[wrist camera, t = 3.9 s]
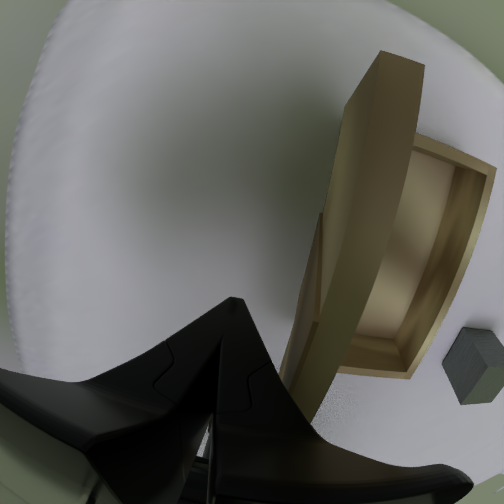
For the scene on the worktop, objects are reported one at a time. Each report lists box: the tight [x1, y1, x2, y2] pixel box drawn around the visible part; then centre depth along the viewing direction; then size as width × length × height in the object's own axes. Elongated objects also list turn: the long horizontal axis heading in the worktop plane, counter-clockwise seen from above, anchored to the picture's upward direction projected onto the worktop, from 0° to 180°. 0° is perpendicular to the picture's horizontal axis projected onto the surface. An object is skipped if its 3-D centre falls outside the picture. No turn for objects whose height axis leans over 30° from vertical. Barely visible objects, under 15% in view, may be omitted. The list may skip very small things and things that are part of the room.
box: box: [337, 133, 497, 379], centre depth 16 cm, size 14×8×4 cm, turn 171°
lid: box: [279, 51, 425, 423], centre depth 10 cm, size 14×9×1 cm
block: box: [442, 328, 504, 405], centre depth 17 cm, size 4×4×5 cm
